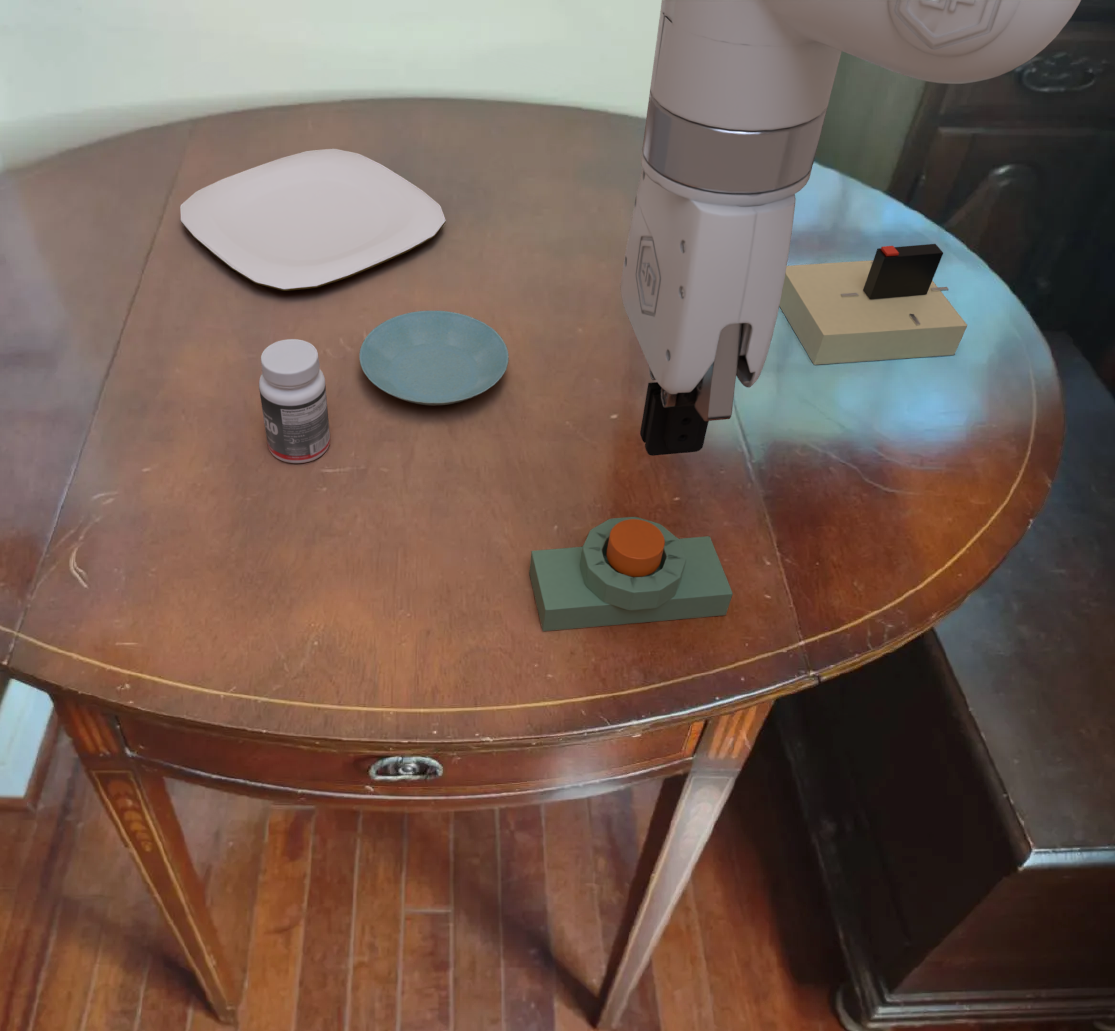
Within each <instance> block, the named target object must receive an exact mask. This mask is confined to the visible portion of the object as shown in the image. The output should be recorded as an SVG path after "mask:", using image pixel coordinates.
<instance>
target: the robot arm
mask: <svg viewBox="0 0 1115 1031" xmlns="http://www.w3.org/2000/svg"><path fill="white" fill-rule="evenodd" d="M1081 1H1082V0H661V3H660V11H659V19H658V26H657V34H656V42H655V50H654V56H653V63H652V64H653V65H652V70H651V80H650V87H649V95H648V102H647V111H646V117H645V126H644V133H643V141H642V146H641V153H640V165H641V172H640V175H639V176H640V177H639V180H638V185H637V189H636V194H635V200H634V204H633V210H632V216H631V221H630V225H629V230H628V232H629V233H628V236H627V242H626V246H625V247H626V248H625V253H624V259H623V264H622V271H621V278H620V286H619V287H620V297H621V301H622V304H623V307H624V310H625V312H626V315H627V318H628V320H629V322H630V325H631V328H632V331H633V332H634V335H635V337H636V340H637V342H638V344H639V347H640V349H641V352H642V353H643V356H644V358H645V360H646V362H647V365H648V371H649V376H650V379H651V380H652V382H648V383H647V388H646V395H645V400H644V406H643V407H644V408H643V413H642V419H641V425H640V430H639V432H640V433H639V434H640V435H639V436H640V438H641V440H642V442H643V443H644V448H645V450H646V453H647V455H649V456H650V457H654V456H656V457H657V456H664V455H676V454H687V453H697V452H699V451H701V450H702V449H703V447H704V444H705V441H706V440H705V439H706V435H707V431H708V427H709V422H715V421H723V420H730V419H731V418H732V415H733V408H734V407H733V406H734V398H735V389H736V381H737V379H738V381H739V383H740V384H741V385H743V386H744V387H745V388H751V387H752V386H753V385H755V384H756V383H757V381H758V380H759V378H760V377H761V374H762V372H763V370H764V367H765V364H766V361H767V357H768V355H769V352H770V348H771V344H772V340H773V336H774V332H775V328H776V323H777V319H778V315H779V309H780V306H779V305H780V300H781V295H782V290H783V284H784V279H785V273H786V267H787V266H788V261H789V255H790V248H791V241H792V234H793V227H794V218H795V209H796V201H797V199H796V194H797V193H799V192H800V191H802V189H803V188H805V187H806V185H807V184H808V182H809V180H810V178H811V174H812V170H813V165H814V163H815V159H816V155H817V151H818V147H819V143H820V139H821V137H822V136H821V135H822V131H823V127H824V125H825V124H824V123H825V120H826V116H827V113H828V108H829V102H830V98H831V94H832V90H833V86H834V82H835V79H836V75H837V71H838V68H839V67H838V66H839V64H840V59H841V55H842V52H843V53H845V54H847V55H851V56H853V57H855V58H858V59H860V60H863V61H864V62H867V63H869V64H872V65H875V66H877V67H879V68H883V69H885V70H886V71H890V72H892V73H896V74H899V75H901V76H905V77H908V78H911V79H915V80H919V81H924V82H928V83H935V84H936V83H937V84H949V85H952V84H953V85H961V84H962V85H963V84H971V83H976V82H981V81H986V80H990V79H993V78H997V77H1000V76H1002V75H1004V74H1007V73H1009V72H1012V71H1013V70H1015V69H1017V68H1018V67H1020V66H1022V65H1024V64H1026V63H1027V62H1029V61H1030V60H1032V59H1033V58H1034V57H1036V56H1037V55H1038V54H1040V53H1041V52H1042V51H1043V50H1045V49H1046V47H1048V45H1050V44H1051V42H1053V41H1054V40H1055V39H1056V38H1057V36H1058V35H1059V34H1060V32H1061V31H1062V30H1063V29H1064V27H1065V26H1066V25H1067V24H1068V22H1069V21H1070V20H1071V19H1072V16H1073V15H1074V13H1075V12H1076V10H1077V8H1078V6H1079V5H1080V3H1081ZM653 381H655V382H653Z"/></svg>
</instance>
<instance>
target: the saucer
mask: <svg viewBox="0 0 1115 1031" xmlns="http://www.w3.org/2000/svg"><path fill="white" fill-rule="evenodd" d="M358 356H359V365H360V367H361V369H362V371H363V373H364V375H365V376H366V378H368V380H369V381H370V382H371V383H372V384H373V385H374V386H376V387H377V388H378V389H380V390H381V391H383V392H384V393H386V394H388V395H390V396H393V397H394V398H396V399H398V400H399V399H400V400H402V401H405V402H409V403H411V404H417V405H423V406H446V405H453V404H457V403H461V402H464V401H467V400H469V399H470V400H471V399H473V398H475V397H477V396H479V395H481V394H483V393H484V392H486V391H488V390H489V389H491V388H492V387H493V386H495V385H496V384H497V383H498V382H499V381H500V380H501V379H502V377H503V376H504V374H505V373H506V372H507V369H508V366H509V361H510V360H509V358H510V357H509V349H508V347H507V344H506V343H505V341H504V339H503V338H502V336H501V335H500V334H499V333H498V332H497V331H496V330H495V329H494V328H493V327H492V326H489V325H488V324H487V323H485V322H483V321H482V320H479V319H477V318H475V317H472V316H471V315H470V316H469V315H467V314H463V313H458V312H454V311H447V310H418V311H411V312H406V313H403V314H399V315H397V316H393V317H391V318H389V319H387V320H385V321H382V322H381V323H380V324H378V325H376V327H374V328H373V329H372V330H371V331H370V332H369V333H368V334H367V335H366V337H365V338H364V339H363V342H362V344H361V346H360V348H359V355H358Z"/></svg>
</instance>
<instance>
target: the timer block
mask: <svg viewBox="0 0 1115 1031" xmlns="http://www.w3.org/2000/svg"><path fill="white" fill-rule="evenodd" d="M629 519H638V520H643V521H647V522H649V523H651V524H653V525H655V526H656V527H657V528H658V529H659V530H660V531H661V532H662V534H663V536H664V540H665V545H664V549H663V554H662V558H661V562H660V565H659V567H658V568H657V569H656V570H655V571H654V572H653V573H651V574H649V575H647V576H643V577H631V576H627V575H624V574H622V573H619V572H618V571H616V570H615V569H614V568H613V567H612V566H611V565H610V563H609V562H608V559H607V554H606V553H607V547H608V541H609V536H610V532H611V530H612V528H613V527H614V526H615V525H616V524H618V523H619V522H621V521H624V520H629ZM712 540H713V539H712V538H711V536H710V535H708V536H707V535H706V536H696V537H695V536H693V537H683V538H682V537H681V538H678V537H677V536H676V535H674V534H673V533H672V532H671V531H669V529H667V528H666V527H665V526H663V525H662V524H661V523H659V522H655V521H653V520H649V519H646V518H641V517H638V516H625V517H614V518H613V517H612V518H608V519H607V520H605V521H603V522H602V523H600V524H598V525H596V526H594V527H593V528H591V529H590V530H589V531H588V534H587V536H586V538H585V541H584V543H583V545H582V546H574V547H573V546H572V547H562V548H561V547H560V548H549V549H537V550H531V551H530V553H531V554H530V561H529V569H528V570H529V572H528V573H529V574H528V575H529V579H530V583H531V586H532V591H533V595H534V600H535V604H536V608H537V612H538V617H539V621H540V625H541V626H540V627H541V629H542V630H541V631H542V632H549V631H550V632H551V631H561V630H563V631H564V630H575V629H584V628H585V629H586V628H597V627H607V626H608V627H610V626H621V625H631V624H642V623H643V624H644V623H653V622H665V621H666V622H667V621H674V620H675V621H676V620H677V621H678V620H687V619H689V620H690V619H698V618H699V619H700V618H710V617H721V616H727V613H728V610H729V607H730V604H731V601H732V598H733V595H734V593H733V591H732V588H731V584H730V583H729V580H728V578H727V575H726V573H725V571H724V568H723V565H722V563H721V560H720V558H719V556H718V553H717V550H716V549H715V545H714V542H713V541H712Z"/></svg>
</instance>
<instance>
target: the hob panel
mask: <svg viewBox="0 0 1115 1031" xmlns="http://www.w3.org/2000/svg"><path fill="white" fill-rule="evenodd" d="M873 260H874V259H873ZM873 260H870V259H869V260H858V261H857V260H855V261H842V262H841V261H840V262H839V261H838V262H825V263H824V262H823V263H811V264H809V263H808V264H795V265H794V264H793V265H787V267H786V273H785V279H784V284H783V290H782V295H781V300H780V305H779V309H781V311H782V313H783V314H784V316H785V318H786V319H787V321H788V323H789V325H790V327H791V328H792V330H793V332H794V333H795V335H796V337H797V339H798V340H799V342H800V344H801V345H802V347H803V349H804V351H805V352H806V354H807V356H808V357H809V359H810V360H811V362H812V364H813V365H814V366H817V365H819V366H820V365H831V364H832V365H833V364H846V363H859V362H860V363H862V362H875V361H888V360H889V361H891V360H903V359H917V358H930V357H931V358H933V357H946V356H955V355H956V352H957V350H958V348H959V347H960V346H959V345H960V343H961V341H962V339H963V337H964V335H965V333H966V330H967V328H968V324H967V323H966V321H965V320H964V319H963V317H962V316H961V315H960V314H959V312H958V311H957V310H956V308H955V306H953V304H952V303H951V302H950V301H949V299H948V298H947V297H946V296H945V295H944V293H943V292H948V291H949V290H950V289H949V287H948V286H940V287H939V286H938V285H937V284H936V283H935V282H934V279H933V280H932V282H931V285H930V287H929V290H928V292H927V294H926V295H916V296H904V297H893V298H882V299H869V298H868V296H867V295H866V294H865V292H864V291H863V288H864V286H865V283H866V280H867V277H868V274H869V271H870V268H871V266H872V263H873Z"/></svg>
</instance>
